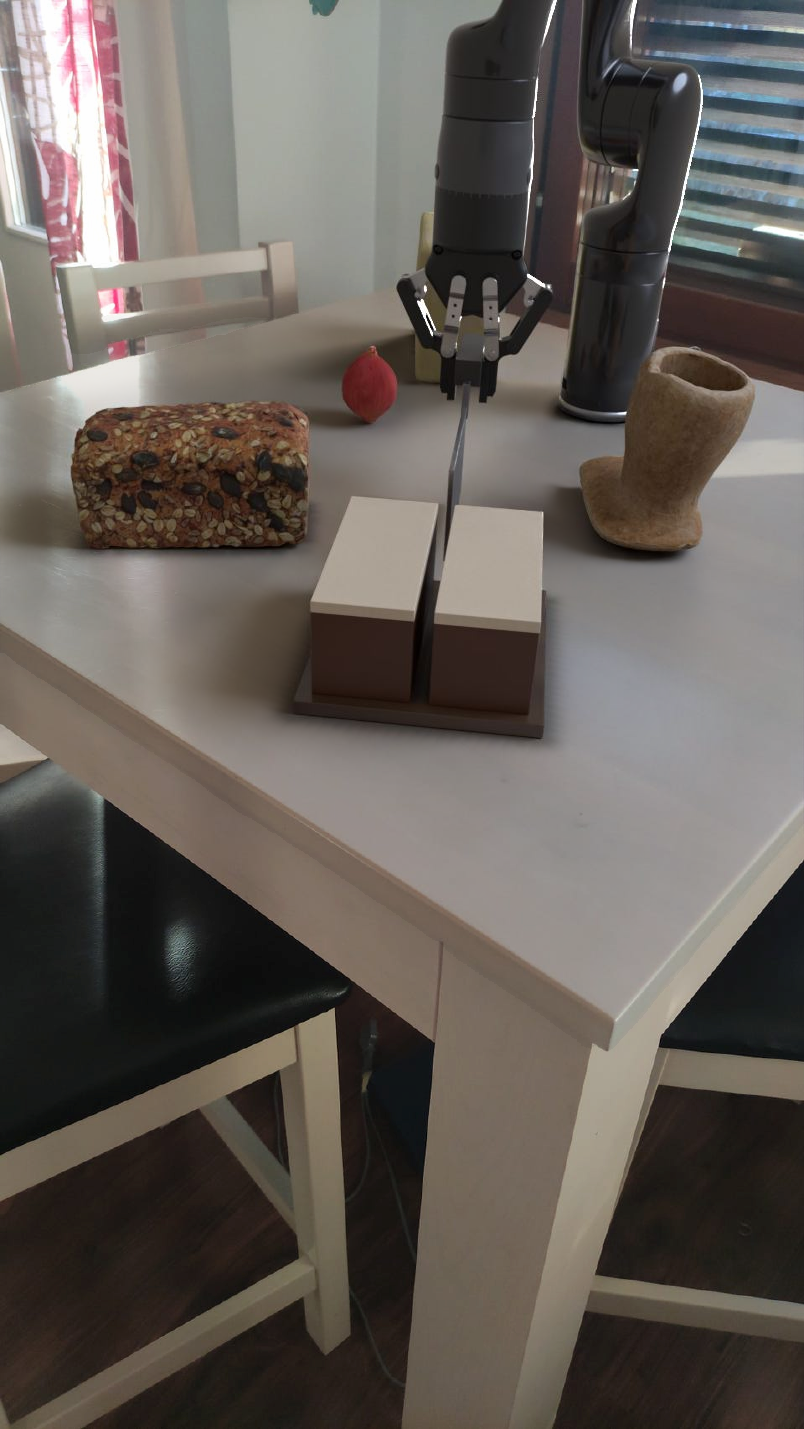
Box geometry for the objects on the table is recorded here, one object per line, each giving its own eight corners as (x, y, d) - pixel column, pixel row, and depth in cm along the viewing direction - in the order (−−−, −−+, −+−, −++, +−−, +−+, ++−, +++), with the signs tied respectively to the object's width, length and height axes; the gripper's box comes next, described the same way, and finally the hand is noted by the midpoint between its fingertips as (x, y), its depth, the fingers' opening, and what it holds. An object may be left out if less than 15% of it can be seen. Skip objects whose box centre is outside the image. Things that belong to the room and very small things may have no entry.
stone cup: (731, 567, 87) (776, 387, 78) (587, 558, 87) (615, 377, 79) (701, 494, 99) (736, 331, 91) (575, 486, 100) (598, 322, 91)
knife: (454, 453, 102) (462, 333, 95) (476, 455, 102) (486, 335, 95) (431, 560, 83) (439, 420, 76) (459, 563, 83) (470, 422, 76)
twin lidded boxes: (339, 582, 82) (340, 489, 78) (544, 601, 81) (557, 507, 77) (293, 713, 68) (290, 607, 63) (542, 738, 66) (557, 632, 62)
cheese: (388, 331, 140) (392, 208, 132) (460, 331, 142) (468, 209, 133) (413, 384, 123) (420, 246, 114) (495, 384, 124) (507, 247, 115)
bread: (311, 500, 95) (309, 390, 89) (310, 554, 86) (308, 435, 80) (100, 498, 93) (85, 386, 88) (77, 552, 85) (59, 432, 79)
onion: (332, 426, 110) (332, 349, 106) (355, 409, 115) (355, 334, 110) (383, 435, 109) (385, 357, 104) (404, 418, 113) (407, 342, 109)
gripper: (570, 180, 86) (545, 391, 96) (401, 169, 87) (394, 380, 97) (572, 195, 79) (545, 419, 89) (389, 184, 80) (383, 407, 90)
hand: (466, 398), depth 93 cm, fingers closed on knife, 2 cm apart
